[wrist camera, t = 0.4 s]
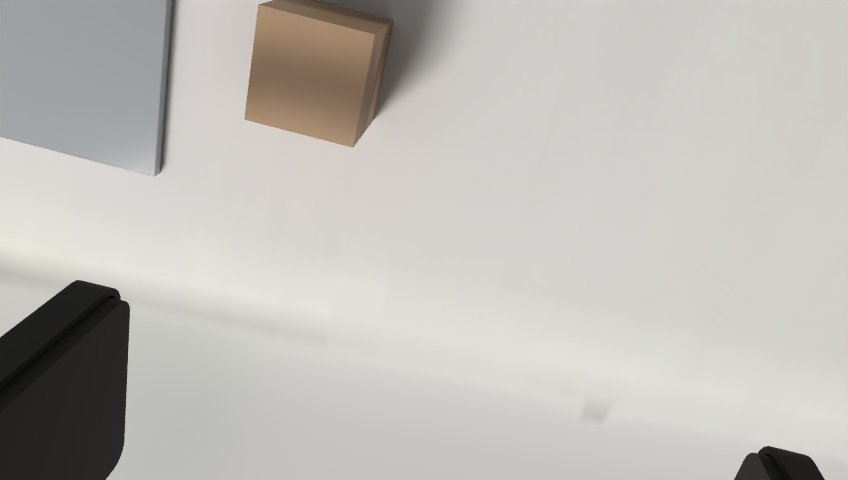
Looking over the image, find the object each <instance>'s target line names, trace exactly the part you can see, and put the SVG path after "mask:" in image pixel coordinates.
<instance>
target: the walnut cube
mask: <svg viewBox="0 0 848 480" xmlns="http://www.w3.org/2000/svg"><path fill="white" fill-rule="evenodd" d="M392 25H393V21H391V20H388V19H384V18H380V17H376V16H372V15H368V14H364V13H360V12H356V11H352V10H349V9H345V8H341V7H337V6H333V5H329V4H325V3H321V2H317V1H314V0H273V1H270V2H266V3H263V4H259V5H258V13H257V21H256V30H255V38H254V46H253V54H252V62H251V70H250V78H249V87H248V95H247V103H246V111H245V120H249V121H252V122H256V123H260V124H264V125H268V126H272V127H276V128H279V129H283V130H287V131H291V132H295V133H299V134H303V135H307V136H310V137H314V138H318V139H322V140H326V141H330V142H334V143H337V144H341V145H345V146H349V147H354V146H355V144H356V143H357V141H358V140H359V139H360V137H361V136H362V135H363V133H364V132H365V131H366V129H367V128H368V127H369V125H370V124H371V123H372V121H373V118H374V113H375V108H376V103H377V99H378V94H379V89H380V84H381V79H382V74H383V69H384V64H385V59H386V54H387V49H388V45H389V40H390V35H391V30H392Z"/></svg>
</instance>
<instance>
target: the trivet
mask: <svg viewBox="0 0 848 480" xmlns="http://www.w3.org/2000/svg"><path fill="white" fill-rule="evenodd" d="M171 13H172V0H0V137H3V138H7V139H11V140H15V141H19V142H22V143H26V144H30V145H34V146H38V147H42V148H45V149H49V150H53V151H57V152H61V153H65V154H68V155H72V156H76V157H80V158H84V159H88V160H91V161H95V162H99V163H103V164H107V165H111V166H115V167H118V168H122V169H126V170H130V171H134V172H138V173H141V174H145V175H149V176H153V177H155V176H156V175H158V174H159V173H160V165H161V151H162V137H163V124H164V110H165V96H166V82H167V68H168V55H169V41H170V27H171Z"/></svg>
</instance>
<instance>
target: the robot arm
mask: <svg viewBox="0 0 848 480" xmlns="http://www.w3.org/2000/svg"><path fill="white" fill-rule="evenodd" d="M129 319H130V307H129V304H128V303H127V302H126V301H122V300H121V299H120V294H119V291H118V290H116V289H114V288H110V287H106V286H102V285H98V284H94V283H90V282H85V281H81V280H76V281H74V282H73V283H71V284H70V285H68V286H67V287H66V288H64V289H63V290H62V291H60V292H59V293H58V294H56V295H55V296H54V297H53V298H51V299H50V300H49V301H47V302H46V303H45V304H43V305H42V306H41V307H39V308H38V309H37V310H36V311H34V312H33V313H32V314H30V315H29V316H28V317H26V318H25V319H24V320H23V321H21V322H20V323H19V324H17V325H16V326H15V327H14V328H12V329H11V330H9V331H8V332H7V333H5V334H4V335H3V336H1V338H0V480H106V478H107V477H108V476H109V475H110V473H111V472H112V471H113V469H114V468H115V466H116V465H117V463H118V460H119V459H120V456H121V453H122V450H123V446H124V433H125V411H126V388H127V363H128V342H129ZM734 480H825V479H824V478H823V476H822V474H821V473H820V471H819V470H818V468H817V466H816V464H815V463H814V461H813V460H812V459H811V458H810V457H809V456H806V455H803V454H799V453H795V452H791V451H787V450H783V449H778V448H774V447H770V446H767V447H764V448H762V449H761V450H760V451H759V452H758V454H757V453H750V454H749V455H747V456H746V458H745V460H744V461H743V463H742V465H741V467H740V469H739V471H738V473H737V475H736V477H735V479H734Z"/></svg>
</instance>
